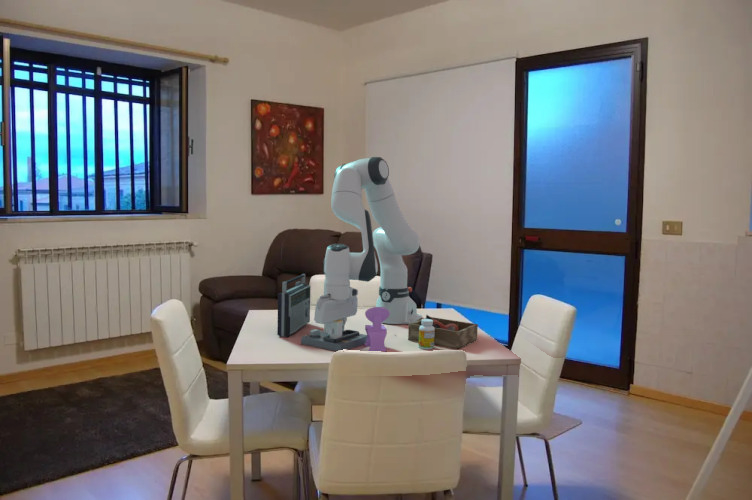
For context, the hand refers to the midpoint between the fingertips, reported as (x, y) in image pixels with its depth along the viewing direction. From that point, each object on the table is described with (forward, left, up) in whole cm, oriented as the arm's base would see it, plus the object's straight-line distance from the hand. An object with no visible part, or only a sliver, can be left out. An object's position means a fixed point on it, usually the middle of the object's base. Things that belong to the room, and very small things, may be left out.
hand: (335, 332), depth 206 cm
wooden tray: (-32, +25, -5) cm, 41 cm away
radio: (-10, -26, -5) cm, 29 cm away
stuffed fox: (-33, +24, -5) cm, 41 cm away
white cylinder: (0, 0, -3) cm, 3 cm away
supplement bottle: (-19, +25, -5) cm, 32 cm away
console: (-4, -3, -5) cm, 7 cm away
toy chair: (-7, +12, -5) cm, 15 cm away
